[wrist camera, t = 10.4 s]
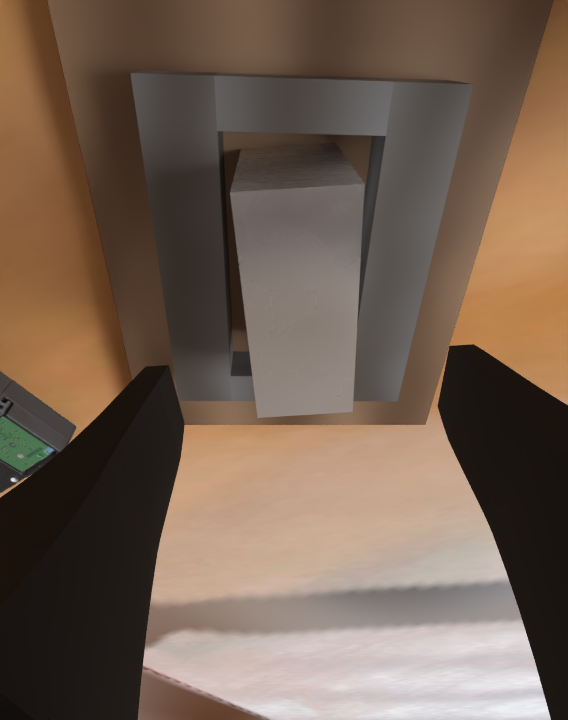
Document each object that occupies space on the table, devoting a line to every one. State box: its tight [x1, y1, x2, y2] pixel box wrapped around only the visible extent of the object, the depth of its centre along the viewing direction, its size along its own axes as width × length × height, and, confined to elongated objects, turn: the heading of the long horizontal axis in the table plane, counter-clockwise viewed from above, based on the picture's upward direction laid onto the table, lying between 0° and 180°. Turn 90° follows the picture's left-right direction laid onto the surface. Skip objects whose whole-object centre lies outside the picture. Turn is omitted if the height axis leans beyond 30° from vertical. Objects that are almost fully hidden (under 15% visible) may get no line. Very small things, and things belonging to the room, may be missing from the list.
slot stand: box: [47, 0, 554, 425], centre depth 18 cm, size 16×20×4 cm
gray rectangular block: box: [230, 143, 365, 418], centre depth 16 cm, size 4×8×6 cm, turn 3°
